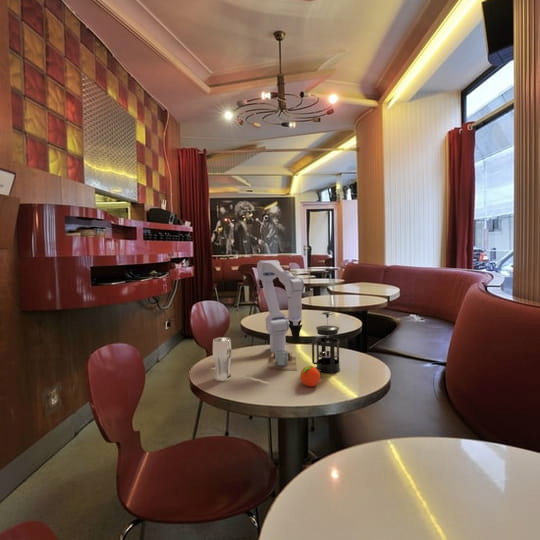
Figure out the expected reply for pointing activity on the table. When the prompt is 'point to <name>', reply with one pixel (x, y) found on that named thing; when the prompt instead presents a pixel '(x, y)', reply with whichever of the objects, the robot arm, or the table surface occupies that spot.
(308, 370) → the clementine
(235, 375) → the table surface
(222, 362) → the beer glass
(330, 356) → the french press
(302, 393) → the table surface
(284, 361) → the grey block
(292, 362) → the cradle
